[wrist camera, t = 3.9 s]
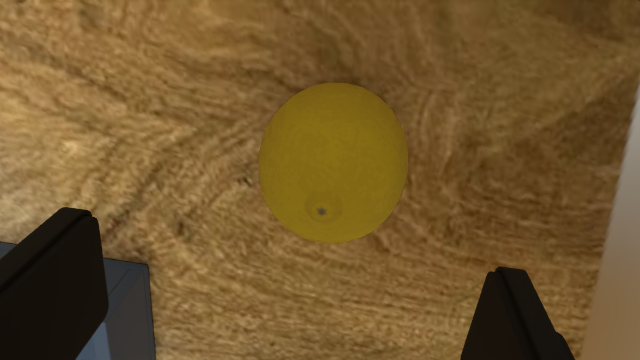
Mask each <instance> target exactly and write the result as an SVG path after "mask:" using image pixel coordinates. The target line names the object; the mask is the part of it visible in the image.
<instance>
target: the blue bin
mask: <svg viewBox="0 0 640 360" xmlns="http://www.w3.org/2000/svg"><path fill="white" fill-rule="evenodd" d="M15 246H16V245H15V244H9V243H2V242H0V259H1V258H2V257H3V256H4V255H6V254H7V253H8V252H9V251H10V250H12V249H13V248H14V247H15ZM103 261H104V269H105V277H106V284H107V292H108V300H109V309H108V313H107V315H106V317H105V319H104V321H103V322H102V323H101V325H100V326H99V328H98V329H97V330H96V332H95V333H94V335H93V336H92V337H91V339H90V340H89V342H88V343H87V344H86V346H85V347H84V348H83V350H82V351H81V353H80V354H79V355H78V357H77V358H76V360H156V358H155V346H154V334H153V323H152V311H151V299H150V287H149V275H148V265H145V264H138V263H132V262H125V261H119V260H112V259H106V258H103Z"/></svg>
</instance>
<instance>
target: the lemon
mask: <svg viewBox="0 0 640 360" xmlns="http://www.w3.org/2000/svg"><path fill="white" fill-rule="evenodd" d="M258 159H259V183H260V186H261V190H262V193H263V197H264V200H265V202H266V204H267V205H268V207H269V209H270V210H271V212H272V214H273V215H274V216H275V217H276V218H277V219H278V220H279V221H280V222H281V223H282V224H283V226H284V227H286V228H287V229H289V230H290V231H292V232H293V233H295V234H296V235H298V236H300V237H302V238H305V239H307V240H310V241H313V242H319V243H325V244H335V243H345V242H348V241H352V240H355V239H359V238H361V237H363V236H365V235H367V234H368V233H370V232H372V231H374V230H375V229H376V228H377V227H378V226H379V225H380V224H381V223H382V222H384V221H385V220H386V219H387V218H388V217H389V215H390V214H391V212H392V211H393V209H394V207H395V206H396V204H397V203H398V201H399V199H400V197H401V195H402V192H403V189H404V185H405V182H406V178H407V175H408V145H407V141H406V138H405V134H404V131H403V127H402V125H401V124H400V122H399V120H398V119H397V117H396V115H395V114H394V112H393V110H392V109H391V108H390V107H389V106H388V105H387V104H386V103H385V102H384V101H383V100H382V99H381V98H380V97H379V96H377V95H375V94H374V93H372V92H370V91H368V90H367V89H365V88H363V87H360V86H356V85H352V84H348V83H334V82H327V83H323V84H319V85H314V86H310V87H308V88H306V89H305V90H303V91H301V92H299V93H297V94H295V95H294V96H292V97H291V98H290V99H289V100H288V101H287V102H286V103H285V104H284V105H282V106H281V107H280V108H279V109H278V110H277V112H276V113H275V115H274V116H273V118H272V120H271V121H270V123H269V125H268V126H267V128H266V130H265V132H264V136H263V140H262V143H261V147H260V151H259V157H258Z"/></svg>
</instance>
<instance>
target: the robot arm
mask: <svg viewBox="0 0 640 360" xmlns="http://www.w3.org/2000/svg"><path fill="white" fill-rule="evenodd" d="M108 309H109V300H108V292H107V284H106V277H105V269H104V261H103V254H102V246H101V238H100V231H99V223H98V220H97V218H95V217H92V214H91V212H90V211H88V210H83V209H76V208H68V207H63V208H61V209H59V210H58V211H57V212H56V213H55V214H53V215H52V216H51V217H50V218H49V219H47V220H46V221H45V222H44V223H43V224H41V225H40V226H39V227H38V228H37V229H35V230H34V231H33V232H32V233H31V234H29V235H28V236H27V237H26V238H25V239H23V240H22V241H21V242H20V243H19V244H18V245H16V246H15V247H14V248H13V249H12V250H10V251H9V252H8V253H7V254H6V255H4V256H3V257H2V258H1V259H0V360H76V358H77V357H78V355H79V354H80V353H81V351H82V350H83V348H84V347H85V346H86V344H87V343H88V342H89V340H90V339H91V337H92V336H93V335H94V333H95V332H96V330H97V329H98V328H99V326H100V325H101V323H102V322H103V321H104V319H105V317H106V315H107V313H108ZM461 360H575V359H574V357H573V355H572V353H571V351H570V349H569V347H568V345H567V343H566V341H565V339H564V338H563V336H562V335H561V334H559V333H558V332H556V331H555V329H554V327H553V325H552V323H551V321H550V319H549V317H548V315H547V313H546V311H545V309H544V307H543V305H542V303H541V301H540V299H539V297H538V294H537V292H536V290H535V288H534V286H533V284H532V282H531V280H530V278H529V276H528V274H527V272H526V271H525V270H522V269H515V268H507V267H498V268H497V269H496V271H495V272H491V271H490V272H488V274H487V276H486V279H485V282H484V285H483V288H482V292H481V295H480V298H479V301H478V304H477V307H476V310H475V313H474V316H473V320H472V323H471V326H470V329H469V332H468V335H467V338H466V341H465V344H464V348H463V351H462V354H461Z"/></svg>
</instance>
